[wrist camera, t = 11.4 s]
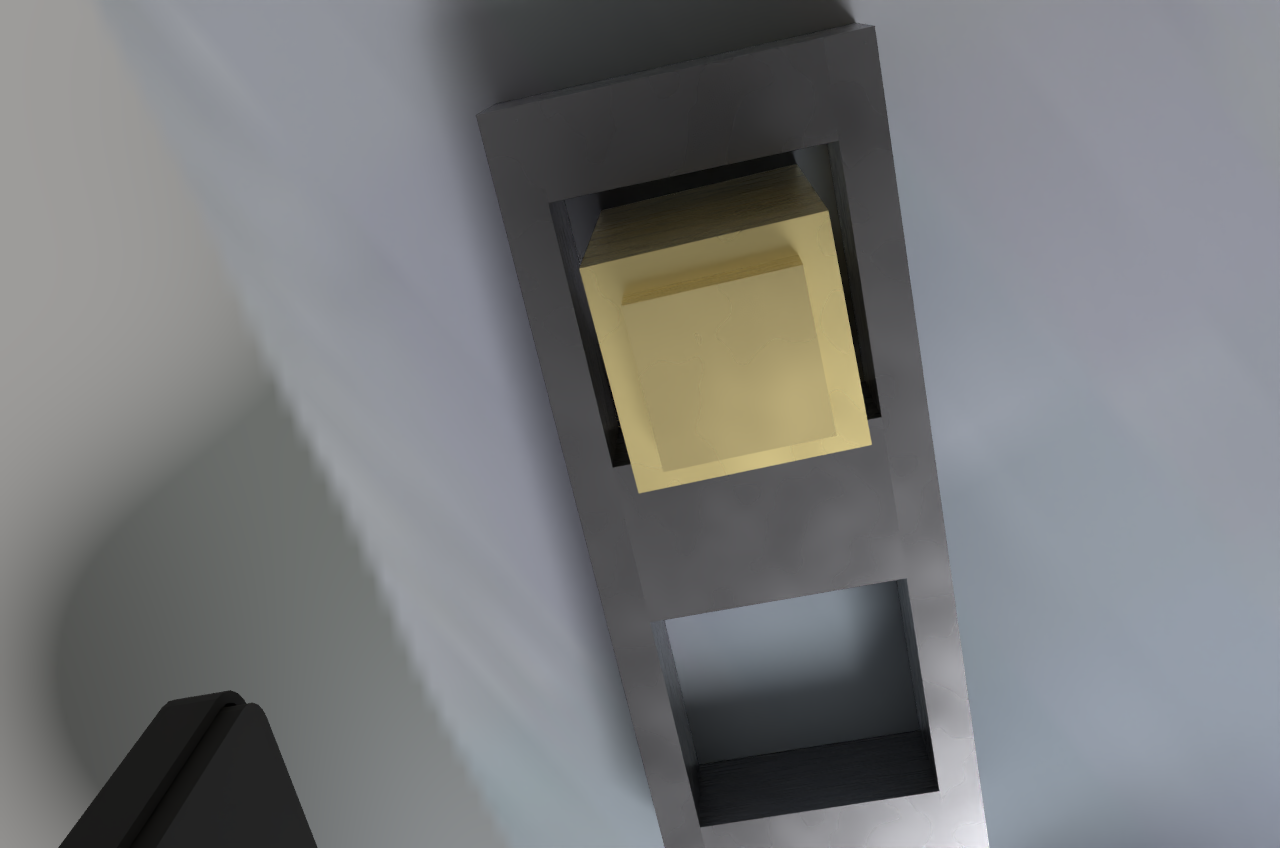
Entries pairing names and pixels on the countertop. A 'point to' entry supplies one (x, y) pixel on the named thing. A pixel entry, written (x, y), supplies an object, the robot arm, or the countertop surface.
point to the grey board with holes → (765, 497)
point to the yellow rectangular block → (725, 329)
